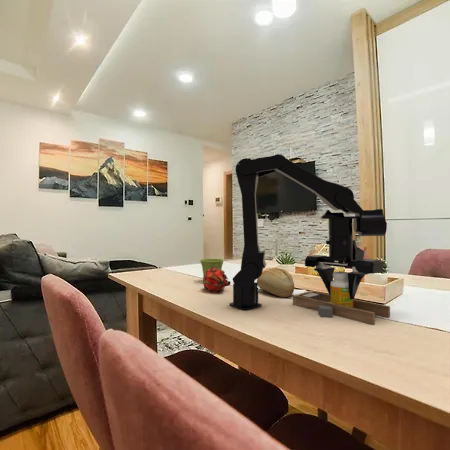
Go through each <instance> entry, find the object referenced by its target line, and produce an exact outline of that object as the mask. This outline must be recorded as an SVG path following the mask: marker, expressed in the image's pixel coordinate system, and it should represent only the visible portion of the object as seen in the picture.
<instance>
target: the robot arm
mask: <svg viewBox="0 0 450 450" xmlns="http://www.w3.org/2000/svg"><path fill="white" fill-rule="evenodd" d="M273 173H280V174H281V175H283V176H284V177H287V178H288V179H290V180H291V181H293V182H295V183H297V184H298V185H300V186H302V187H303V188H305V189H307V190H308V191H310V192H311V193H313V194H315V195H316V196H317V198H319V199H320V201H322V202H323V203H324V204H326V206H328V207H329V208H330V209H332V210H334V211H336V212H332V211H331V210H329V209H326V210H325V212H324V213H323V214H322V215H321V216H320V219H321V220H328V239H326V240H325V244H326V245H328V255H321V254H320V255H319V254H313V255H307V256H306V257H305V259H304V266H305V267H307V268H313V270H314V271H316V273H317V274H318V276H319V278H320V279H321V280H322V283H323V284H324V287H325V288H326V291H327V294H329V295H331V291H330V283H331V281H333V280H334V278H333V272H335V270H336V267H338V268H346V269H347V268H350V269H352V270H351V271H350V272H347V273H348V283H349V294H350V299H355V296H356V293H357V291H358V289H359V286H360V284H361V282H362V280H363V278H364V277H365V276H366V275H370V274H371V275H372V274H377V273H382V272H384V264H383V262H382V261H381V259H375V258H374V259H372V258H364V257H365V253H366V252H365V250H363V249H362V248H360V247H358V246H357V245H356V244H357V242H356V240H355V239H353V234H354V233H357V235H358V236H359V237H384V236H385V235H386V233H387V231H388V230H387V229H388V223H387V221H386V220H387V219H386V216H385V215H384V209H382V208H376V209H366V210H365V209H363V208H362V207H361V205H359V204H358V202H357V201H356V200H355V194H354V192H353V190H352V189H351V188H349V187H347V186H344V185H342V184H339V183H336V182H332V181H328V180H325V179H323V178H321V177H320V176H318V175H316V174H314V173H313V172H311V171H309V170H307V169H306V168H304V167H302V166H300V165H299V164H297V163H295V162H293V161H292V160H290V159H288V158H286V157H285V156H284V155H283V154H281V153H277V154H273V155H269V156H264V157H263V156H262V157H261V156H260V157H256V158H254V159H251V158H246V157H245V158H243V159H240V160H239V161H238V162H237V163H236V165H235V174H236V179H237V183H238V187H239V189H240V194H241V205H242V206H241V209H242V223H243V224H242V226H243V244H244V245H243V250H242V255H241V256H242V257H241V263H240V270H239V271H238V272H236V274H235V275H234V276H233V277H232V282H233V284H232V294H233V295H232V300H233V301H232V302H230V303H229V306H231V307H234V308H237V309H240V310H243V311H246V310H251V309H256V308H259V307H262V306H263V305H262V303H259V287H258V285H257V279H258V278H259V277H260V276H261V274H262V272H263V271H264V269H265V268H266V266H267V263H266V260H265V257H266V250H264V249H263V250H261V249H260V244H259V233H258V231H259V230H258V228H259V227H258V214H257V213H258V212H257V209H258V208H257V196H256V195H257V189H258V182H259V178H262V177H265V176H268V175H270V174H273ZM337 211H341V212H337ZM344 213H345V214H346V216H345V214H344ZM348 215H350V216H348ZM352 215H353V216H352ZM353 232H354V233H353ZM255 281H256V282H255Z"/></svg>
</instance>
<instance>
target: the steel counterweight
mask: <svg viewBox="0 0 450 450" xmlns="http://www.w3.org/2000/svg"><path fill="white" fill-rule="evenodd" d="M302 296H303V297H308V298H312V299H316V300H320V294H315V293H310V294H306V295H302Z"/></svg>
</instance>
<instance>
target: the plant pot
mask: <svg viewBox="0 0 450 450" xmlns="http://www.w3.org/2000/svg"><path fill="white" fill-rule="evenodd" d="M224 261H225V259H222V258H202V259H199V262H200V265H201V267H202V268H201V269H202V274H203V275H204V273H205V272H206V271H207V270H208V269H209V268H211V267H214V268H218V269H220V270H222V269H223V265H224Z"/></svg>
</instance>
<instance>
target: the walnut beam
mask: <svg viewBox="0 0 450 450" xmlns="http://www.w3.org/2000/svg"><path fill="white" fill-rule="evenodd" d="M310 293H315V294H320V300H316V299H312V298H308V297H303V296H302V295H306V294H310ZM292 305H295V306H299V307H302V308H307V309H310V310H314V311H317V312H318V305H320V306H331V308H332V309H333V316H337V317H341V318H345V319H349V320H352V321H357V322H361V323H365V324H368V325H372V326H373V325H375V324H376V320H375V319H376V317H375V316H380V317H384V318H390V317H391V306H390V305H386V304H380V303H376V302H375V303H374V302H370V301H365V300H361V299H355V298H354V299H353V308H352V307H347V306H343V305H339V304H335V303H333V302H331V295H329V293H325V292H320V291H315V290H308V291H304V292H300V293H296V294H292Z"/></svg>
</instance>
